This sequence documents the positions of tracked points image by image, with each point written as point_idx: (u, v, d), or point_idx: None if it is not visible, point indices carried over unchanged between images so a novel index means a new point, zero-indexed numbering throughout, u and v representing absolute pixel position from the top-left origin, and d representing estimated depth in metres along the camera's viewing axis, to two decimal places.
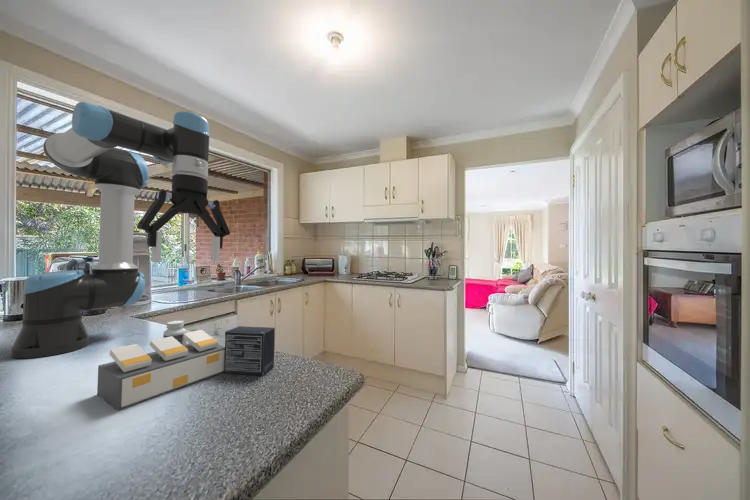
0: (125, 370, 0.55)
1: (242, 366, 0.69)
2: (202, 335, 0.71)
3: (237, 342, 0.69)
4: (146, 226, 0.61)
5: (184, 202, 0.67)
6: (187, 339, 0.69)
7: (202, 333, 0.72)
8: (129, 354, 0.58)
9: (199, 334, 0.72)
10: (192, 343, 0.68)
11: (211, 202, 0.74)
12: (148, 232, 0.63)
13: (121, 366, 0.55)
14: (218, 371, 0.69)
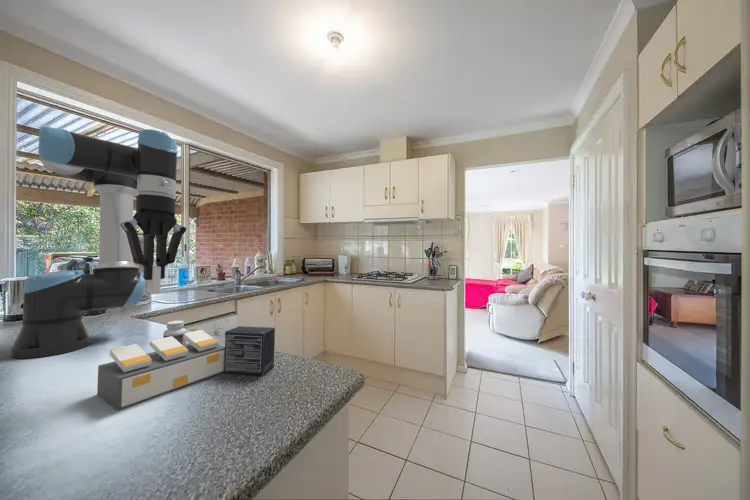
0: (125, 370, 0.55)
1: (242, 366, 0.69)
2: (202, 335, 0.71)
3: (237, 342, 0.69)
4: (142, 260, 0.64)
5: (151, 225, 0.65)
6: (187, 339, 0.69)
7: (202, 333, 0.72)
8: (129, 354, 0.58)
9: (199, 334, 0.72)
10: (192, 343, 0.68)
11: (178, 226, 0.72)
12: (144, 266, 0.66)
13: (121, 366, 0.55)
14: (218, 371, 0.69)
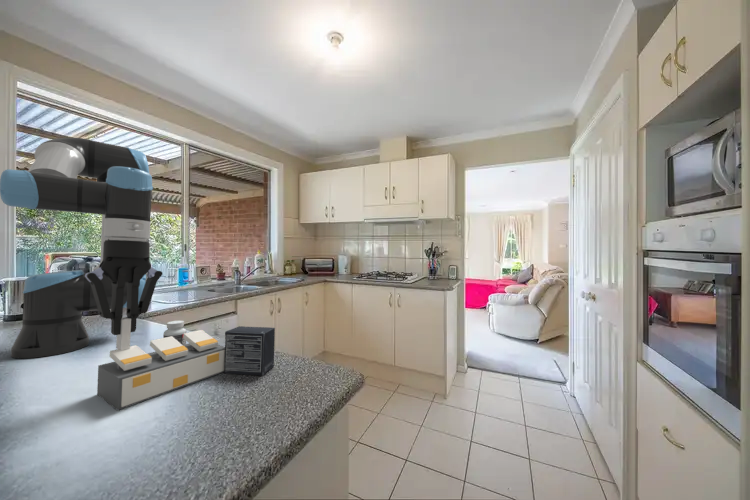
0: (125, 368, 0.55)
1: (242, 366, 0.69)
2: (202, 335, 0.71)
3: (237, 342, 0.69)
4: (109, 314, 0.57)
5: (120, 274, 0.58)
6: (187, 339, 0.69)
7: (202, 333, 0.72)
8: (129, 354, 0.58)
9: (199, 334, 0.72)
10: (192, 343, 0.68)
11: (153, 271, 0.64)
12: (112, 320, 0.59)
13: (121, 365, 0.55)
14: (218, 371, 0.69)
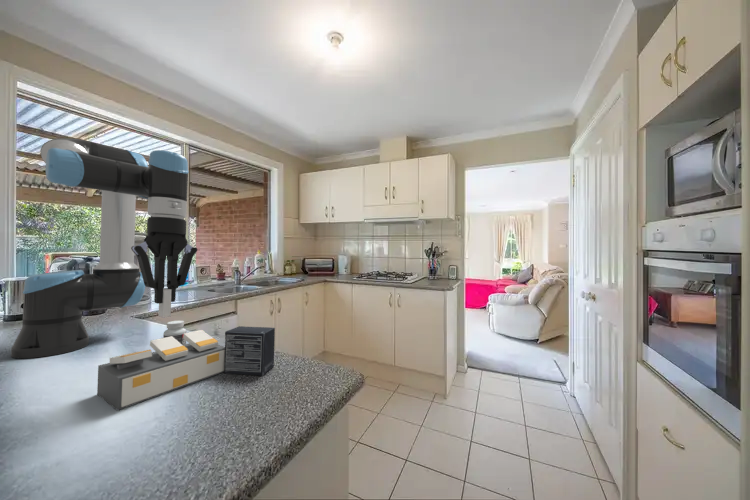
0: (126, 360, 0.55)
1: (242, 366, 0.69)
2: (202, 335, 0.71)
3: (237, 342, 0.69)
4: (153, 284, 0.63)
5: (162, 248, 0.64)
6: (187, 339, 0.69)
7: (202, 333, 0.72)
8: (128, 354, 0.58)
9: (199, 334, 0.72)
10: (192, 343, 0.68)
11: (189, 247, 0.70)
12: (155, 289, 0.65)
13: (121, 360, 0.55)
14: (218, 371, 0.69)
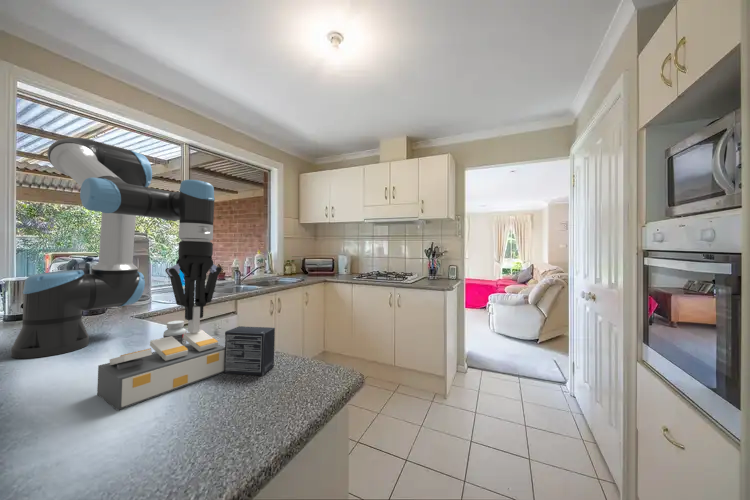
0: (126, 359, 0.55)
1: (242, 366, 0.69)
2: (202, 335, 0.71)
3: (237, 342, 0.69)
4: (185, 303, 0.69)
5: (192, 269, 0.70)
6: (187, 339, 0.69)
7: (202, 333, 0.72)
8: None
9: (199, 334, 0.72)
10: (192, 343, 0.68)
11: (214, 267, 0.76)
12: (186, 307, 0.70)
13: (121, 359, 0.55)
14: (218, 371, 0.69)
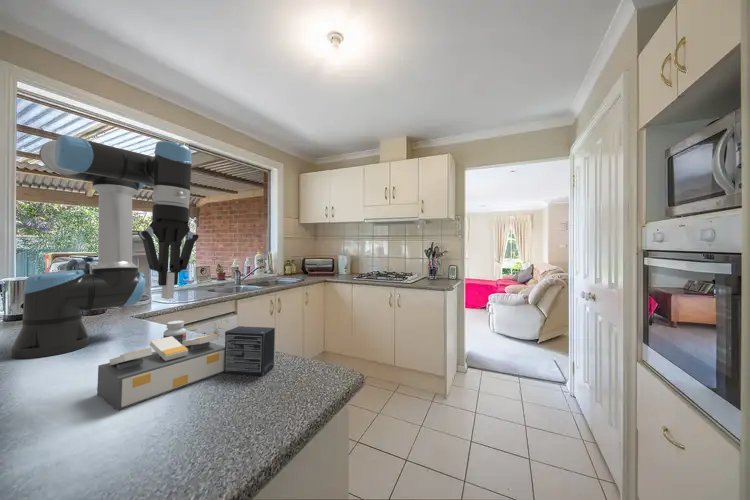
0: (126, 359, 0.55)
1: (242, 366, 0.69)
2: (201, 337, 0.71)
3: (237, 342, 0.69)
4: (158, 267, 0.68)
5: (167, 233, 0.68)
6: (187, 343, 0.69)
7: None
8: None
9: (198, 337, 0.72)
10: (192, 342, 0.68)
11: (191, 234, 0.75)
12: (159, 272, 0.69)
13: (121, 359, 0.55)
14: (218, 371, 0.69)
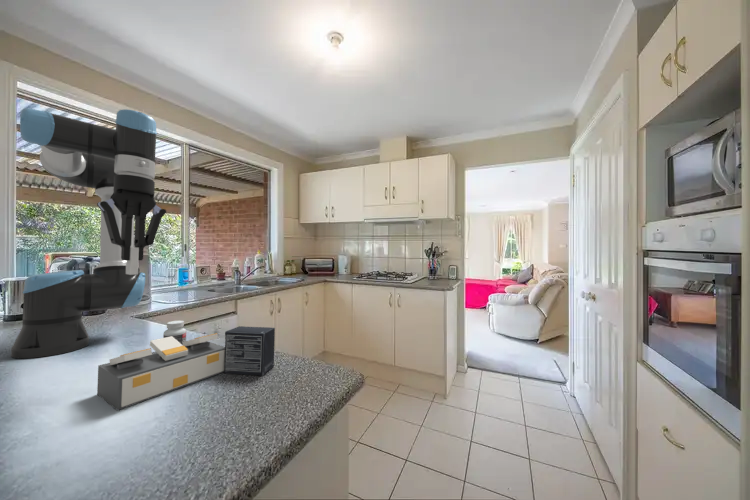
0: (126, 359, 0.55)
1: (242, 366, 0.69)
2: None
3: (237, 342, 0.69)
4: (119, 240, 0.64)
5: (129, 205, 0.65)
6: (187, 343, 0.69)
7: None
8: None
9: None
10: (192, 342, 0.68)
11: (158, 208, 0.72)
12: (122, 247, 0.66)
13: (121, 359, 0.55)
14: (218, 371, 0.69)
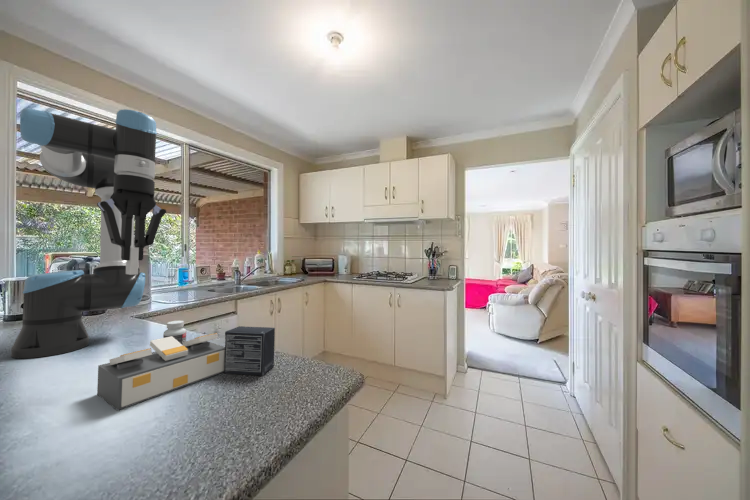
0: (126, 359, 0.55)
1: (242, 366, 0.69)
2: None
3: (237, 342, 0.69)
4: (119, 240, 0.64)
5: (129, 205, 0.65)
6: (187, 343, 0.69)
7: None
8: None
9: None
10: (192, 342, 0.68)
11: (158, 208, 0.72)
12: (122, 247, 0.66)
13: (121, 359, 0.55)
14: (218, 371, 0.69)
